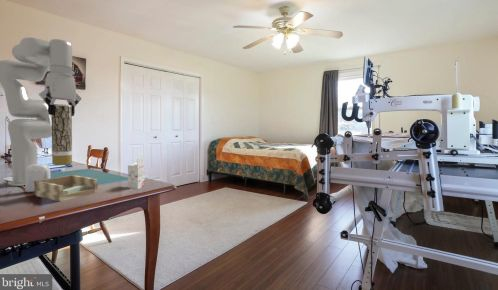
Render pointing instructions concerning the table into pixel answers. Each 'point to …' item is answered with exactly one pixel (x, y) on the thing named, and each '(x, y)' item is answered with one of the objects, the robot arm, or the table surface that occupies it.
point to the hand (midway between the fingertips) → (61, 115)
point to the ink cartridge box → (136, 174)
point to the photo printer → (35, 175)
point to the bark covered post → (62, 135)
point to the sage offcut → (74, 189)
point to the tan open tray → (64, 187)
